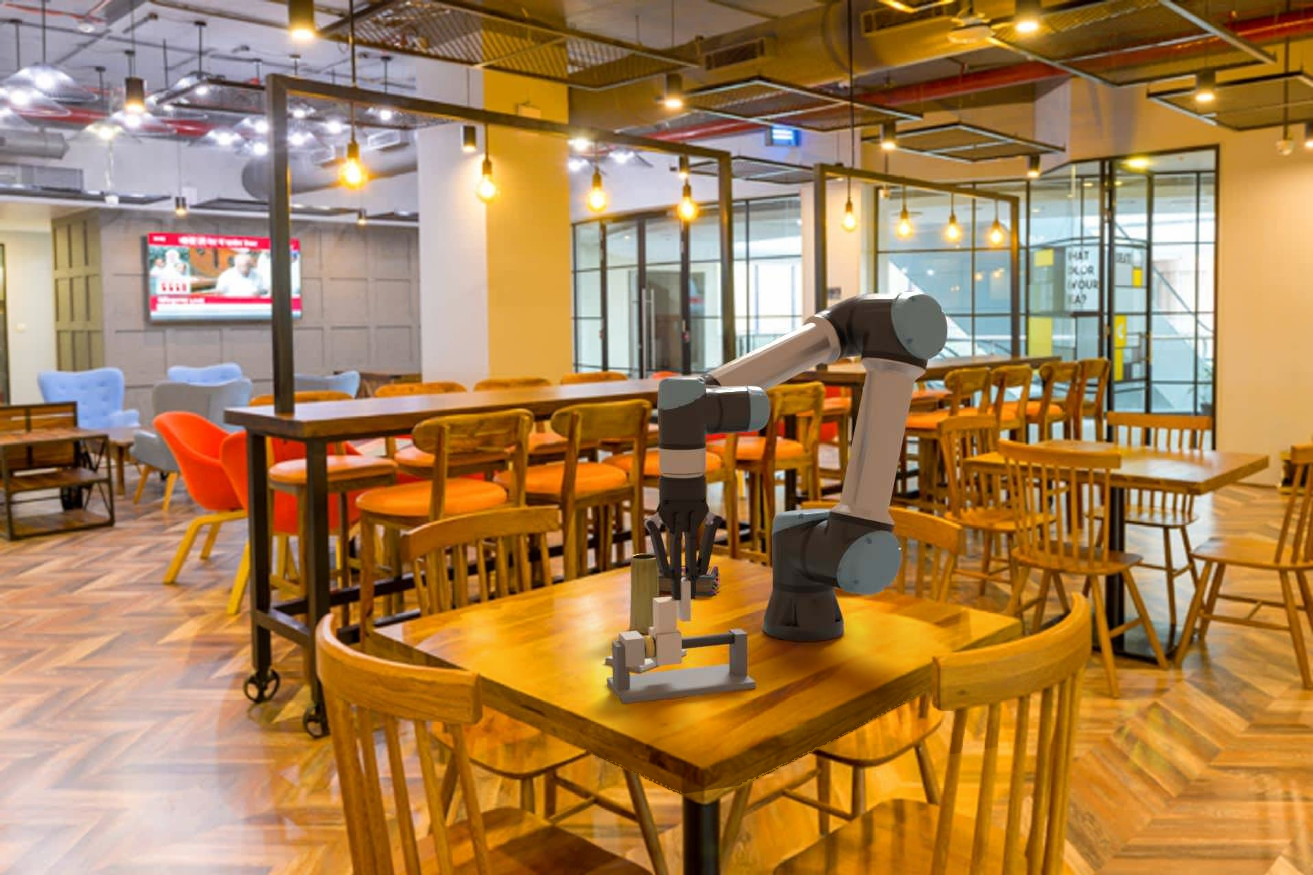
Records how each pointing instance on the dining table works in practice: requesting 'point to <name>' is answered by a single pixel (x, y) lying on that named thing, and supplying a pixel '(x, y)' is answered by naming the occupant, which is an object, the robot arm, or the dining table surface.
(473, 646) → the dining table surface
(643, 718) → the dining table surface
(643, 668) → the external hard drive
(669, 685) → the cord rail
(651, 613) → the vase
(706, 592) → the decorative book
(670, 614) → the stacked pale cubes
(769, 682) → the dining table surface
